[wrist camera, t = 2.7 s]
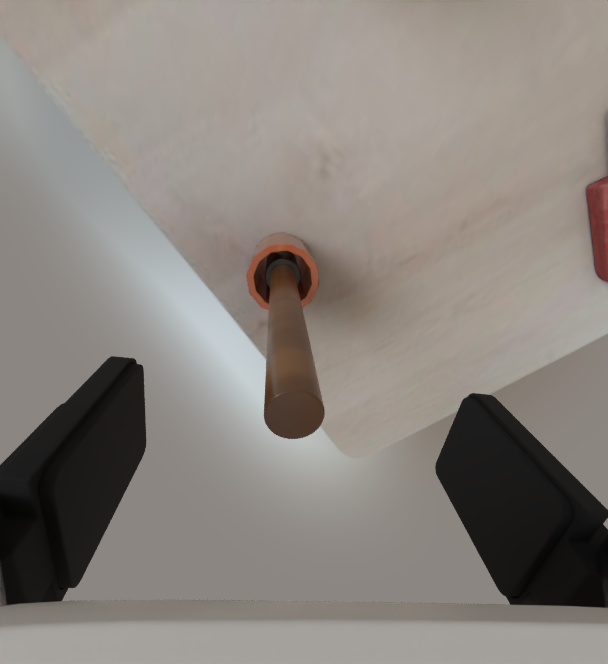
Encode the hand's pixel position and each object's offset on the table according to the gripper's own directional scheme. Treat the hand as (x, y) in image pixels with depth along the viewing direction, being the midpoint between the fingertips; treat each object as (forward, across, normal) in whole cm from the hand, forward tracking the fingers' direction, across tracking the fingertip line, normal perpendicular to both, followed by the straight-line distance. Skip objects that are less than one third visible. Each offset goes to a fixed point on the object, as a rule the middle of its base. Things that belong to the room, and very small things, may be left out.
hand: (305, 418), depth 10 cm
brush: (+20, +1, 0) cm, 20 cm away
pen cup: (+21, +1, 0) cm, 21 cm away
